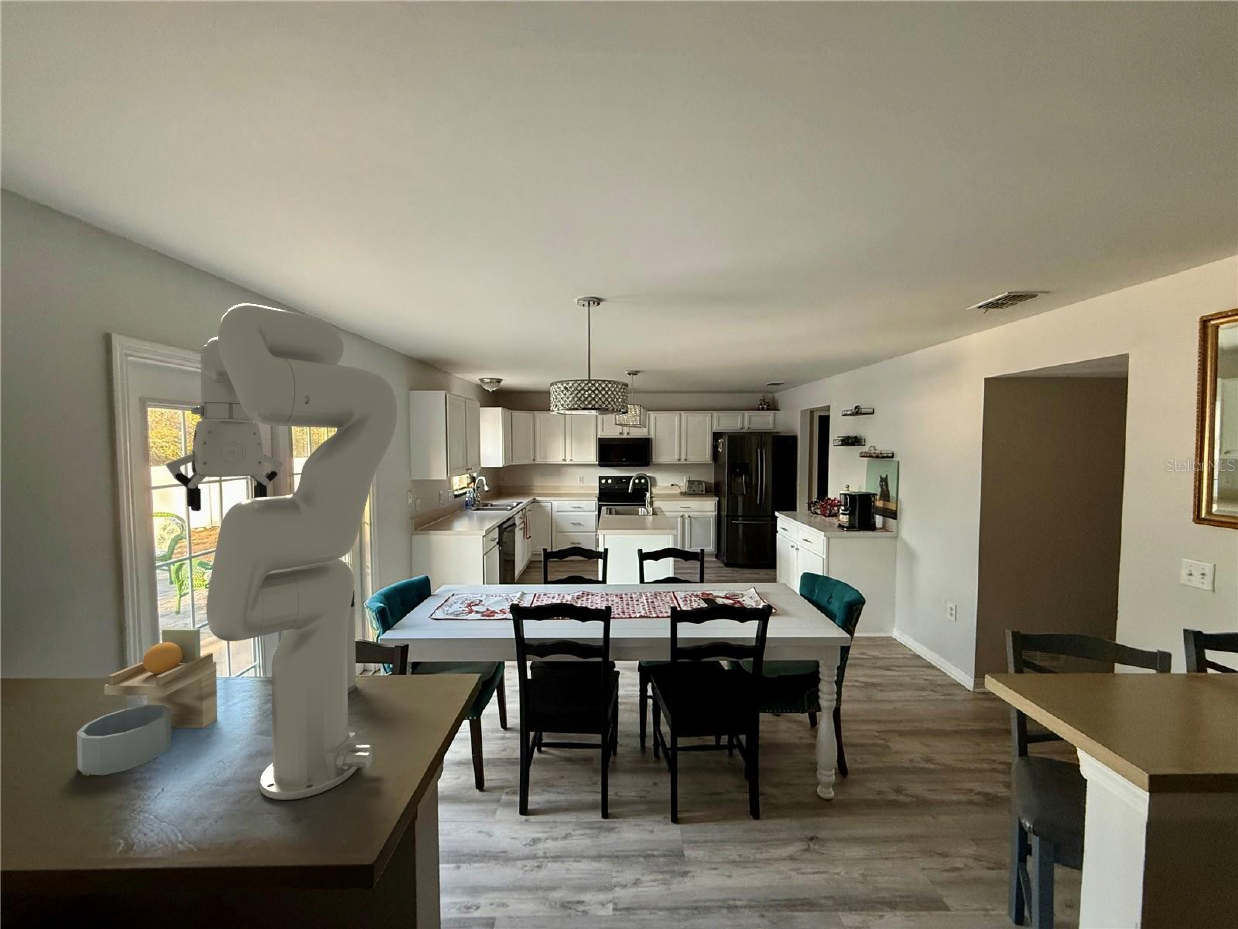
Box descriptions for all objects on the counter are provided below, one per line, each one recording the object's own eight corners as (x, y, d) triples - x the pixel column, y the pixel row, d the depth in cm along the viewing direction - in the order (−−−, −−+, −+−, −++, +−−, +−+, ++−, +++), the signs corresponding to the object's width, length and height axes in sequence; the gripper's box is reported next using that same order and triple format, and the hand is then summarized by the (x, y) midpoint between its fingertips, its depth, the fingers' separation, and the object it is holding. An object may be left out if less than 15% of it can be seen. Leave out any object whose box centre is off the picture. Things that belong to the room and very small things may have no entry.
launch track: (217, 719, 93) (216, 653, 92) (165, 750, 83) (164, 676, 82) (163, 718, 93) (161, 652, 93) (105, 749, 83) (104, 676, 83)
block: (204, 659, 92) (203, 626, 92) (195, 663, 91) (195, 630, 90) (171, 659, 93) (171, 626, 93) (162, 663, 91) (161, 630, 91)
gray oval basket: (186, 738, 86) (185, 705, 86) (125, 776, 76) (124, 738, 76) (127, 737, 87) (126, 704, 87) (58, 775, 76) (57, 737, 76)
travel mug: (363, 683, 107) (362, 586, 107) (343, 698, 100) (341, 594, 100) (334, 682, 108) (333, 585, 107) (312, 697, 101) (311, 594, 101)
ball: (190, 667, 90) (189, 638, 90) (164, 679, 85) (163, 648, 85) (162, 666, 90) (162, 637, 90) (134, 678, 85) (134, 648, 85)
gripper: (171, 410, 86) (173, 514, 87) (288, 416, 100) (289, 506, 100) (160, 413, 91) (162, 511, 91) (273, 418, 104) (274, 503, 105)
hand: (228, 508), depth 96 cm, fingers open, 9 cm apart
